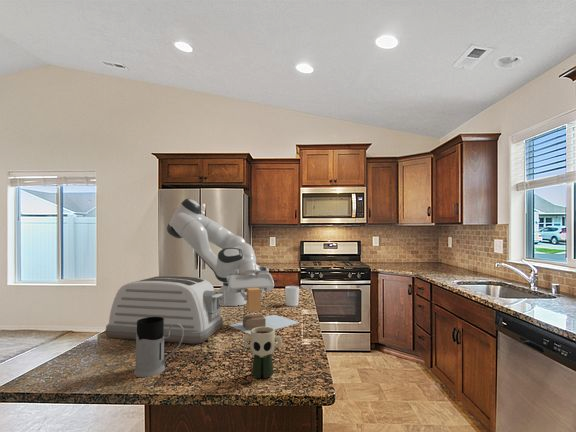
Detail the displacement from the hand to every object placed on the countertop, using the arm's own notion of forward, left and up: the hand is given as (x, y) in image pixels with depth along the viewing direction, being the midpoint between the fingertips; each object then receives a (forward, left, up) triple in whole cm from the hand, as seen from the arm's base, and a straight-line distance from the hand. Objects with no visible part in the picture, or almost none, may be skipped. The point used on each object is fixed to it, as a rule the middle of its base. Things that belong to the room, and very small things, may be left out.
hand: (253, 299), depth 137 cm
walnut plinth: (0, 0, -12) cm, 12 cm away
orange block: (0, 0, -5) cm, 5 cm away
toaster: (-20, -28, -13) cm, 37 cm away
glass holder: (+13, -45, -13) cm, 48 cm away
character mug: (+37, -24, -13) cm, 45 cm away
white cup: (-21, +42, -13) cm, 49 cm away
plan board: (0, +6, -13) cm, 14 cm away
